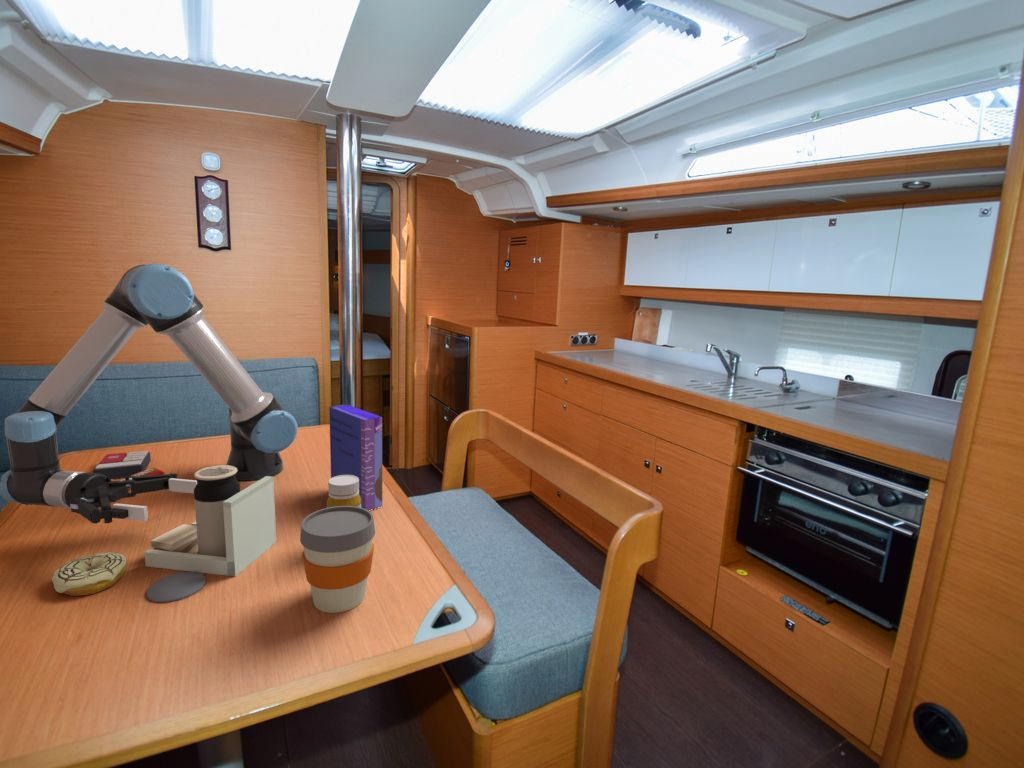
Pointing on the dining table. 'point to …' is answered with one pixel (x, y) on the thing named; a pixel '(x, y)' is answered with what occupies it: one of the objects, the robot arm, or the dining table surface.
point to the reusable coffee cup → (338, 556)
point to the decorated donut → (89, 574)
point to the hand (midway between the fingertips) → (173, 499)
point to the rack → (231, 535)
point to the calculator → (123, 464)
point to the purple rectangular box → (357, 450)
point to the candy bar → (147, 473)
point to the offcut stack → (178, 540)
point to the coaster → (176, 587)
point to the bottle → (344, 491)
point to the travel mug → (213, 507)
